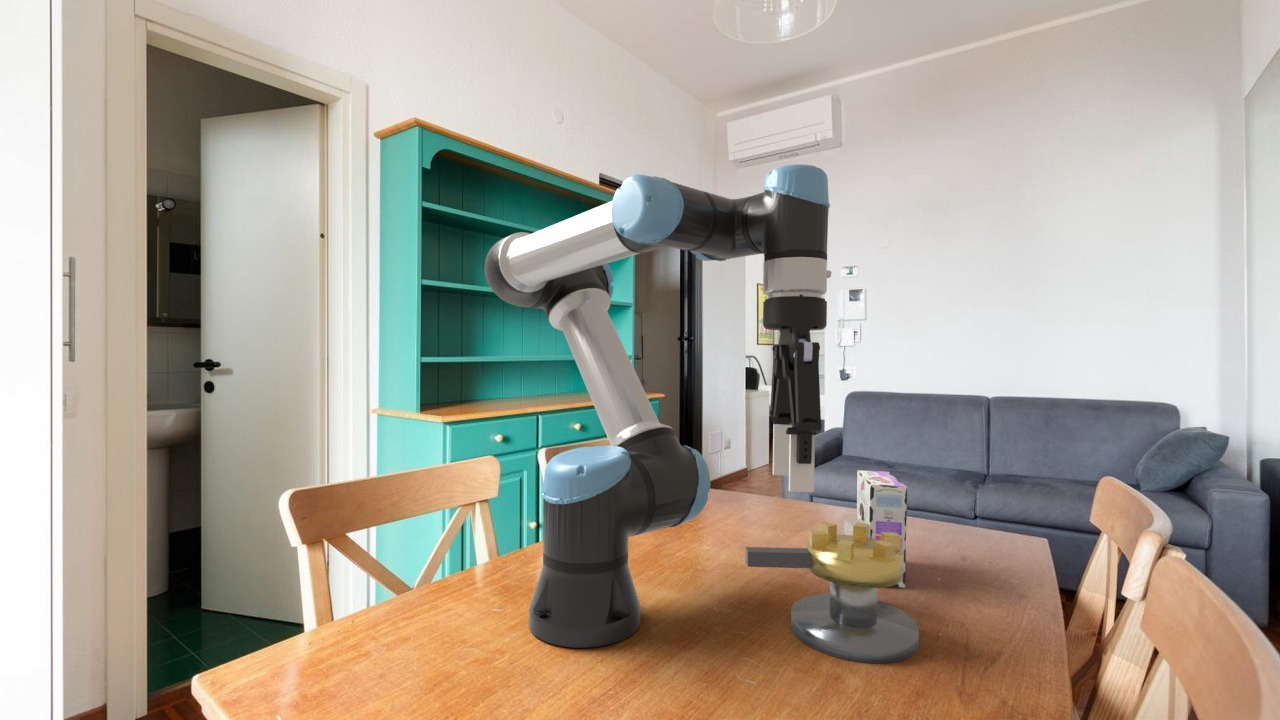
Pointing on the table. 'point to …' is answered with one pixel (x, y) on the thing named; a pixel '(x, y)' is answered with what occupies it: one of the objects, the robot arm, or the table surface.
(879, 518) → the candy box
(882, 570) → the gold studded disc
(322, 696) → the table surface
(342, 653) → the table surface
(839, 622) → the nut base
